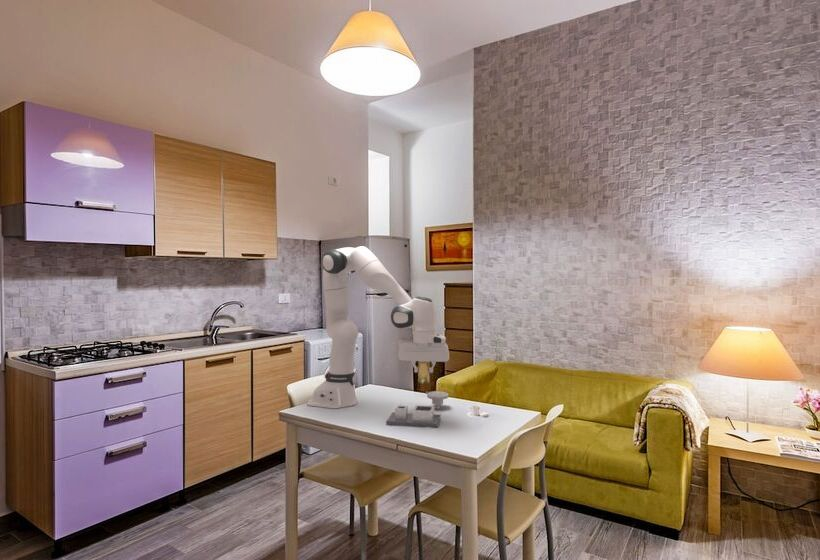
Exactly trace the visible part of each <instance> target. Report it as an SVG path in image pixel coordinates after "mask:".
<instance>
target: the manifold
mask: <svg viewBox="0 0 820 560" xmlns="http://www.w3.org/2000/svg"><path fill="white" fill-rule="evenodd" d="M435 409H436V408H435V405H420V404H419V405H417V404H416V405H414V407H413V409H412V413H409V406H408V405H396V407H395V409H394V412H391V413H390V415H389V416H388V418H387V419H386V420H385V426H398V427H415V428H430V429H432V428H433V429H435V428H437V429H438V426H439V425H440V424H439V423H440V420H441V414H435V411H436V410H435Z"/></svg>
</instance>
